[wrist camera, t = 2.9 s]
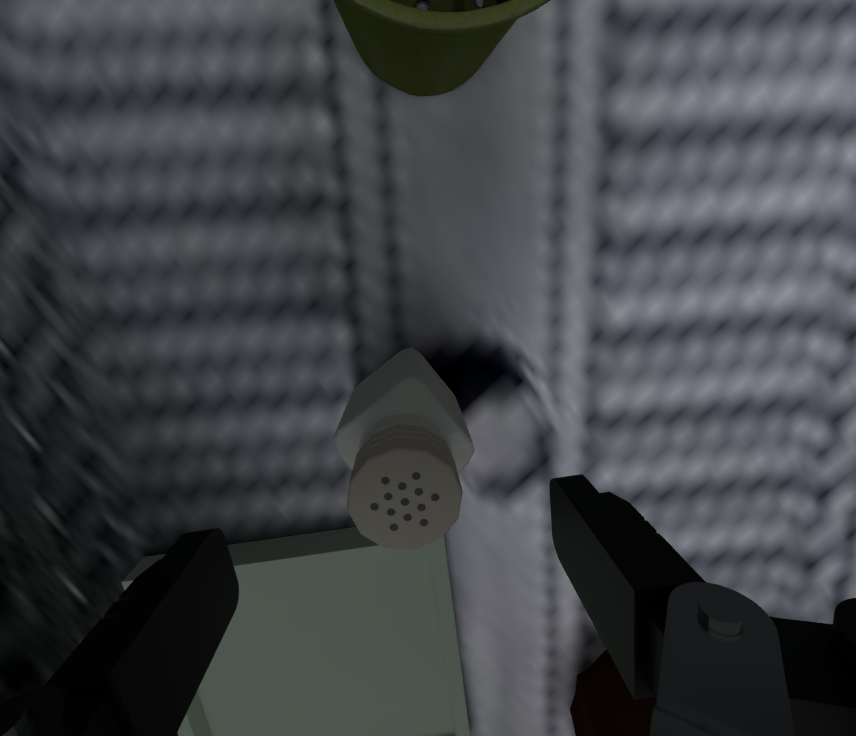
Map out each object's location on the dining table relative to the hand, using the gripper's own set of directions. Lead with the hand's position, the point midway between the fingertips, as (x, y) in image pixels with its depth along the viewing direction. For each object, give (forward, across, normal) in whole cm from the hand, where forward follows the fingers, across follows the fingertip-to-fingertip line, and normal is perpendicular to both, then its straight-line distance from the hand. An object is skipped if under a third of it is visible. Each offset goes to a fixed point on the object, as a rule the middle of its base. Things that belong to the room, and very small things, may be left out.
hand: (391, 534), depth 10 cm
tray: (+11, +7, +15) cm, 20 cm away
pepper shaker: (+11, 0, 0) cm, 11 cm away
